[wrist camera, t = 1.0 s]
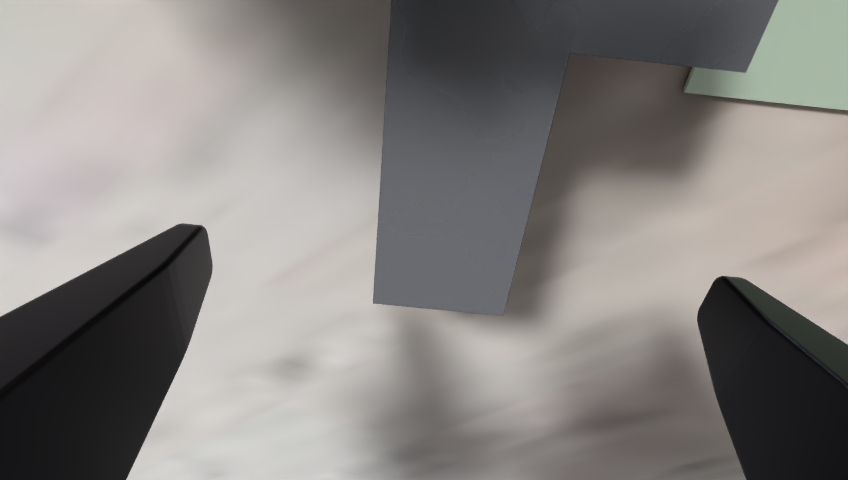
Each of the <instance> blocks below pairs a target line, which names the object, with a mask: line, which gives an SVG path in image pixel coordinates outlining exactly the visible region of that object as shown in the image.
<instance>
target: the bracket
mask: <svg viewBox="0 0 848 480" xmlns="http://www.w3.org/2000/svg"><path fill="white" fill-rule="evenodd" d="M777 3H778V0H392V1H391V17H390V34H389V50H388V66H387V82H386V99H385V115H384V131H383V148H382V164H381V180H380V196H379V213H378V229H377V245H376V262H375V278H374V294H373V303H374V304H385V305H395V306H406V307H416V308H427V309H437V310H448V311H458V312H469V313H479V314H490V315H500V316H503V314H504V310H505V306H506V302H507V298H508V294H509V290H510V287H511V283H512V279H513V275H514V271H515V267H516V263H517V259H518V255H519V251H520V247H521V243H522V239H523V235H524V231H525V227H526V223H527V220H528V216H529V212H530V208H531V204H532V200H533V196H534V192H535V188H536V184H537V180H538V176H539V172H540V168H541V164H542V160H543V156H544V152H545V149H546V145H547V141H548V137H549V133H550V129H551V125H552V121H553V117H554V113H555V109H556V105H557V101H558V97H559V93H560V89H561V85H562V82H563V78H564V74H565V70H566V66H567V62H568V58H569V54H570V53H573V54H582V55H591V56H599V57H608V58H617V59H626V60H635V61H644V62H653V63H662V64H671V65H680V66H689V67H698V68H706V69H715V70H724V71H733V72H742V73H746V72H747V69H748V67H749V65H750V63H751V61H752V58H753V56H754V54H755V52H756V49H757V47H758V45H759V43H760V41H761V38H762V36H763V34H764V32H765V29H766V27H767V25H768V23H769V21H770V18H771V16H772V14H773V12H774V9H775V7H776V5H777Z"/></svg>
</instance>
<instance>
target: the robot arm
mask: <svg viewBox="0 0 848 480" xmlns="http://www.w3.org/2000/svg"><path fill="white" fill-rule="evenodd" d="M211 275H212V258H211V252H210V245H209V239H208V234H207V231H206V228H204V227H203V226H202V225H193V224H178V225H176V226H174V227H172V228H170V229H168V230H166V231H164V232H162V233H160V234H158V235H157V236H155V237H153V238H151V239H149V240H147V241H145V242H143V243H141V244H139V245H137V246H135V247H134V248H132V249H130V250H128V251H126V252H124V253H122V254H120V255H118V256H116V257H114V258H112V259H110V260H109V261H107V262H105V263H103V264H101V265H99V266H97V267H95V268H93V269H91V270H89V271H87V272H86V273H84V274H82V275H80V276H78V277H76V278H74V279H72V280H70V281H68V282H66V283H64V284H62V285H61V286H59V287H57V288H55V289H53V290H51V291H49V292H47V293H45V294H43V295H41V296H39V297H37V298H36V299H34V300H32V301H30V302H28V303H26V304H24V305H22V306H20V307H18V308H16V309H14V310H12V311H10V312H9V313H7V314H5V315H3V316H1V317H0V480H126V479H127V477H128V475H129V472H130V470H131V468H132V466H133V464H134V462H135V460H136V458H137V455H138V453H139V451H140V449H141V447H142V445H143V443H144V441H145V439H146V436H147V434H148V432H149V430H150V428H151V426H152V424H153V422H154V419H155V417H156V415H157V413H158V411H159V409H160V407H161V405H162V402H163V400H164V398H165V396H166V394H167V392H168V390H169V388H170V385H171V383H172V381H173V379H174V377H175V375H176V373H177V371H178V368H179V366H180V364H181V362H182V360H183V357H184V355H185V353H186V351H187V348H188V345H189V342H190V340H191V337H192V334H193V331H194V328H195V324H196V321H197V318H198V315H199V312H200V309H201V306H202V303H203V300H204V297H205V294H206V291H207V288H208V285H209V282H210V279H211ZM697 321H698V326H699V331H700V335H701V339H702V343H703V347H704V351H705V355H706V359H707V363H708V367H709V371H710V375H711V379H712V383H713V387H714V391H715V394H716V398H717V401H718V404H719V407H720V410H721V412H722V415H723V418H724V420H725V423H726V426H727V429H728V431H729V434H730V437H731V439H732V442H733V445H734V448H735V450H736V453H737V456H738V458H739V461H740V464H741V467H742V469H743V472H744V475H745V477H746V480H848V345H847V344H846V343H844V342H842V341H841V340H839V339H838V338H836V337H835V336H833V335H832V334H830V333H828V332H827V331H825V330H824V329H822V328H821V327H819V326H818V325H816V324H814V323H813V322H811V321H810V320H808V319H807V318H805V317H804V316H802V315H800V314H799V313H797V312H796V311H794V310H793V309H791V308H789V307H788V306H786V305H785V304H783V303H782V302H780V301H779V300H777V299H775V298H774V297H772V296H771V295H769V294H768V293H766V292H765V291H763V290H761V289H760V288H758V287H757V286H755V285H754V284H752V283H751V282H749V281H747V280H746V279H743V278H739V277H728V276H721V277H718V278H717V279H716V280H715V281H714V282H713V284H712V286H711V287H710V289H709V291H708V293H707V295H706V297H705V299H704V301H703V302H702V304H701V306H700V308H699V311H698V316H697Z"/></svg>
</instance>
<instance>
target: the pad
mask: <svg viewBox="0 0 848 480" xmlns="http://www.w3.org/2000/svg"><path fill="white" fill-rule="evenodd" d="M683 91H684V92H685V93H692V94H701V95H710V96H720V97H729V98H738V99H747V100H756V101H765V102H775V103H784V104H793V105H802V106H811V107H821V108H830V109H839V110H848V0H778V3H777V5H776V7H775V9H774V12H773V14H772V16H771V18H770V21H769V23H768V25H767V27H766V29H765V32H764V34H763V36H762V38H761V41H760V43H759V45H758V47H757V49H756V52H755V54H754V56H753V58H752V61H751V63H750V65H749V67H748V69H747V72H746V73H742V72H733V71H724V70H715V69H706V68H698V67H692V68H691V71H690V73H689V76H688V79H687V81H686V84H685V86H684V89H683Z"/></svg>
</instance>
